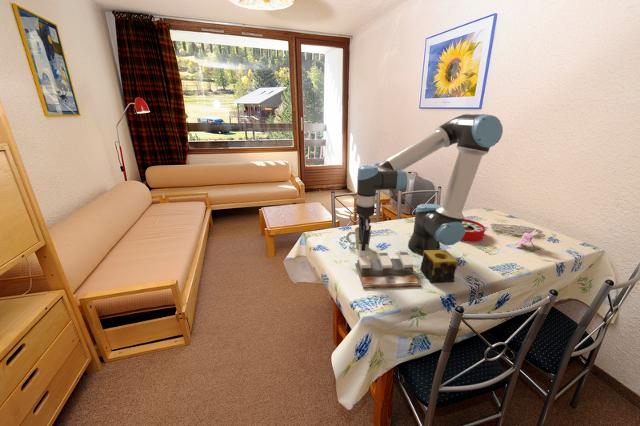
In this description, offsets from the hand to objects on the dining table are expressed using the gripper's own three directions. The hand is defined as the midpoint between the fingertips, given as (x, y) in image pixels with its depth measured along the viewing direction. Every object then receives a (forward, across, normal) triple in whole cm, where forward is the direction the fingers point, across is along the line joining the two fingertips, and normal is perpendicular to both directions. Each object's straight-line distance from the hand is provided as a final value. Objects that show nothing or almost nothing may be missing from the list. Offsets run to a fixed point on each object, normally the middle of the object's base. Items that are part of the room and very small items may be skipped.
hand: (362, 255), depth 120 cm
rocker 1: (+2, +3, 0) cm, 4 cm away
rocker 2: (+2, +3, +18) cm, 19 cm away
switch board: (+6, +6, +9) cm, 13 cm away
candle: (+6, +8, +30) cm, 32 cm away
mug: (+7, -20, +2) cm, 21 cm away
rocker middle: (+2, +3, +9) cm, 10 cm away
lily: (+6, -15, +88) cm, 89 cm away
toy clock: (+6, -32, +65) cm, 73 cm away
